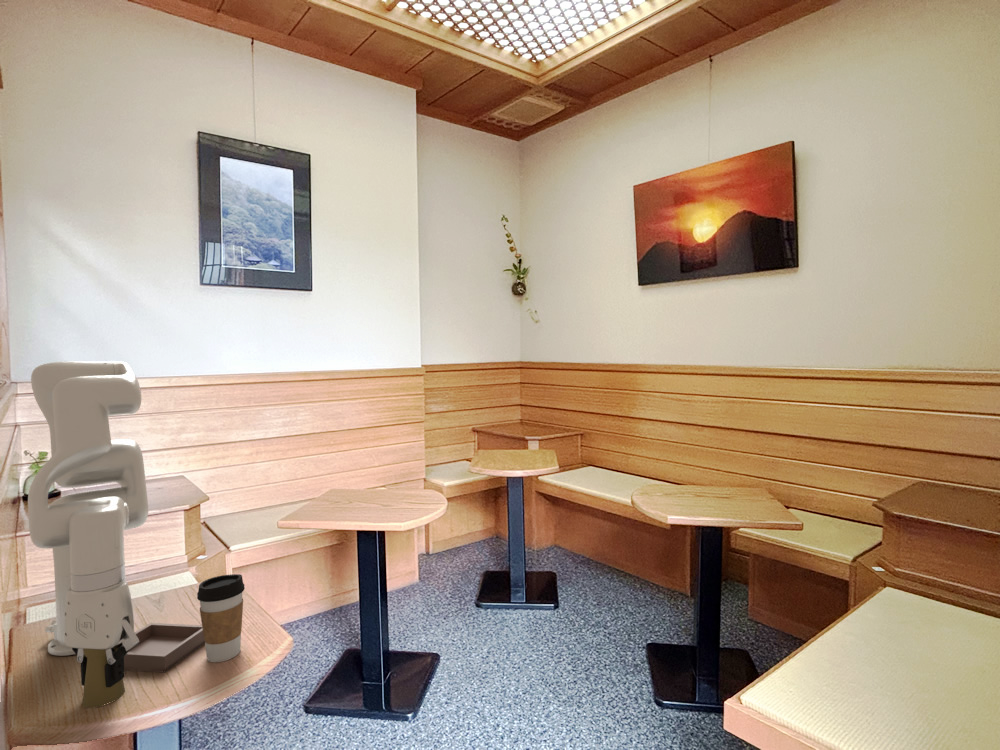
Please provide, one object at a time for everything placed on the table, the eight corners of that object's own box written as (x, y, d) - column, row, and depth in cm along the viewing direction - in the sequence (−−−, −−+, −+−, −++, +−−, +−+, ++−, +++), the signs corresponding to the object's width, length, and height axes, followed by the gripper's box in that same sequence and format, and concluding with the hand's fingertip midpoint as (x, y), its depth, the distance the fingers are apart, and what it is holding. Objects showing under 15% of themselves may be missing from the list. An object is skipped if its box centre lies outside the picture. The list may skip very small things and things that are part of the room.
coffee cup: (227, 667, 100) (224, 589, 100) (189, 664, 102) (186, 587, 102) (256, 644, 108) (253, 572, 108) (220, 642, 110) (217, 570, 110)
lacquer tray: (101, 668, 102) (100, 652, 102) (151, 636, 113) (151, 622, 113) (165, 672, 99) (164, 656, 99) (210, 639, 111) (209, 625, 111)
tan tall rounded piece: (121, 682, 97) (118, 622, 96) (128, 695, 92) (126, 633, 92) (79, 698, 92) (76, 635, 92) (85, 712, 88) (82, 647, 88)
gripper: (36, 585, 90) (41, 692, 90) (121, 588, 87) (126, 698, 87) (78, 568, 97) (82, 667, 97) (158, 570, 94) (162, 672, 95)
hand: (103, 680), depth 92 cm, fingers closed on tan tall rounded piece, 4 cm apart
